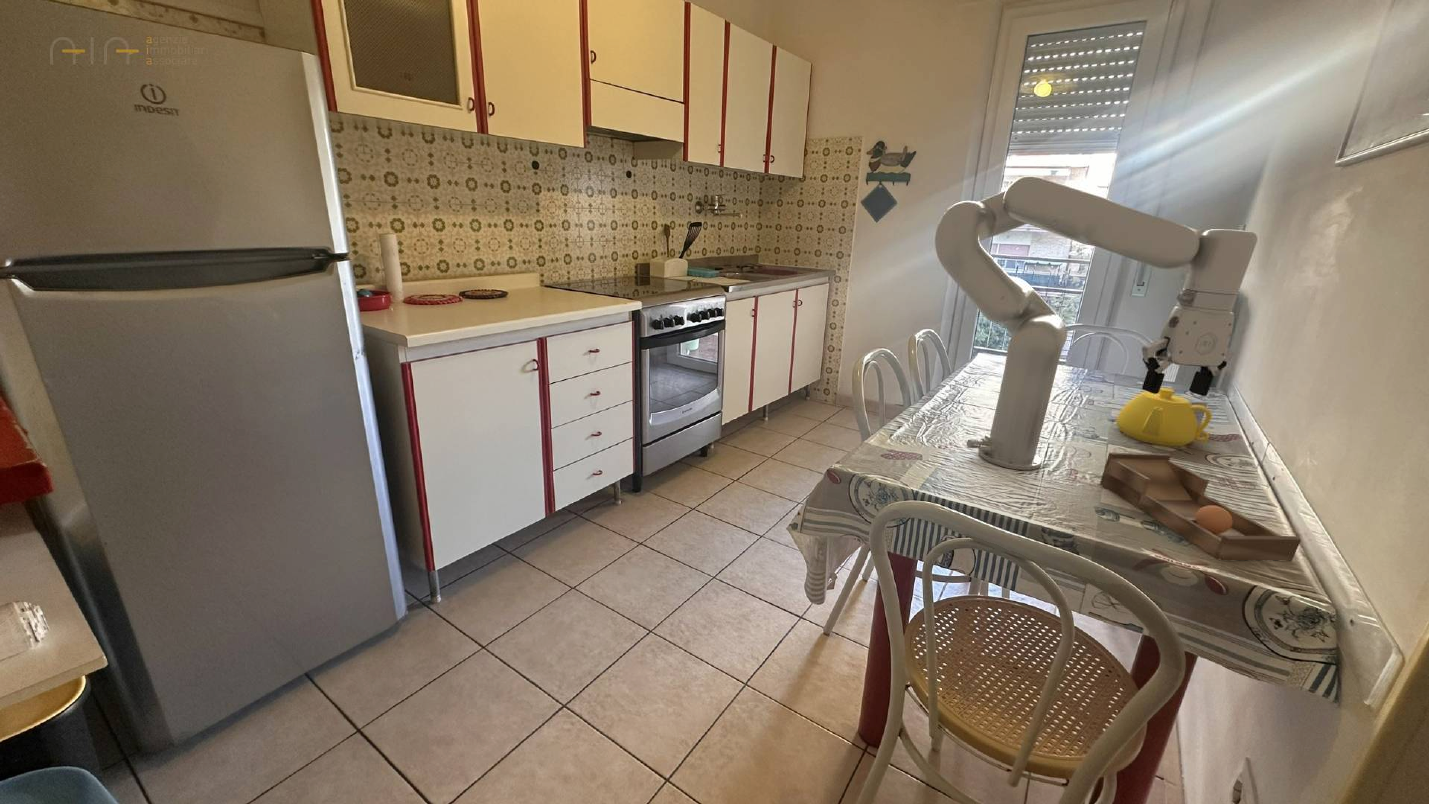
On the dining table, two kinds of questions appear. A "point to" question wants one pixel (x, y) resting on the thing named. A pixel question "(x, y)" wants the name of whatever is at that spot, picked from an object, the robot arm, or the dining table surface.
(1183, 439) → the teapot
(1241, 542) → the lane
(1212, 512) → the ball
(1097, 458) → the dining table surface
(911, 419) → the dining table surface
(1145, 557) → the dining table surface
